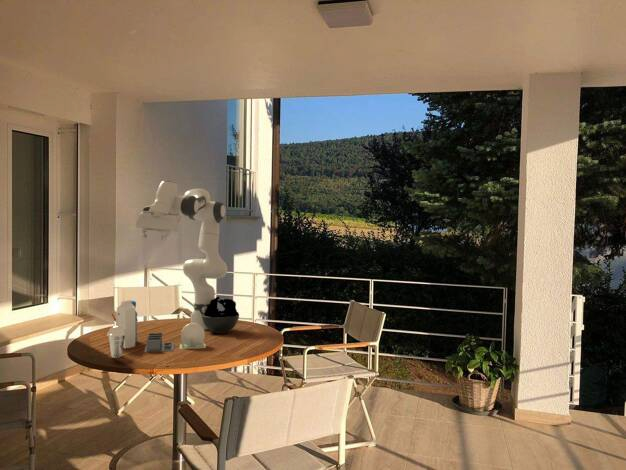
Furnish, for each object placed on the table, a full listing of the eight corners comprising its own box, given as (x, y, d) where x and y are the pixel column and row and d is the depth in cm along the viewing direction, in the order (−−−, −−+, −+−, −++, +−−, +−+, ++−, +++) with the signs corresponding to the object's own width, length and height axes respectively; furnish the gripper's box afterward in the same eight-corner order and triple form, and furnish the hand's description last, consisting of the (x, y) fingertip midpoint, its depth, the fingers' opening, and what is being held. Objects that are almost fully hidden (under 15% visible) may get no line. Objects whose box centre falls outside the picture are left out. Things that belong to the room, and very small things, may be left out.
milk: (116, 347, 250) (116, 301, 249) (126, 344, 255) (126, 299, 255) (125, 349, 247) (125, 302, 246) (135, 346, 252) (135, 300, 252)
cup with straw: (129, 354, 238) (129, 309, 237) (122, 359, 229) (123, 313, 228) (110, 353, 237) (110, 309, 237) (103, 359, 228) (103, 313, 228)
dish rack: (146, 346, 253) (146, 333, 253) (174, 345, 256) (174, 332, 256) (144, 354, 238) (144, 340, 238) (173, 353, 241) (174, 339, 241)
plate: (180, 346, 250) (181, 323, 250) (204, 345, 253) (204, 322, 252) (180, 347, 248) (181, 323, 248) (204, 346, 251) (204, 323, 251)
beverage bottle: (131, 344, 257) (131, 303, 256) (115, 343, 258) (116, 302, 258) (140, 340, 265) (140, 300, 265) (125, 339, 267) (125, 299, 266)
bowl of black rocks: (235, 337, 276) (236, 301, 275) (197, 336, 276) (198, 300, 276) (241, 329, 296) (242, 296, 295) (206, 328, 296) (206, 295, 296)
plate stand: (179, 346, 254) (179, 336, 253) (205, 345, 256) (205, 335, 256) (179, 351, 245) (179, 340, 245) (205, 350, 248) (206, 339, 247)
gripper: (184, 216, 249) (177, 243, 244) (144, 213, 253) (136, 239, 248) (179, 210, 243) (171, 238, 238) (138, 207, 247) (130, 234, 242)
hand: (153, 239), depth 243 cm, fingers open, 8 cm apart
